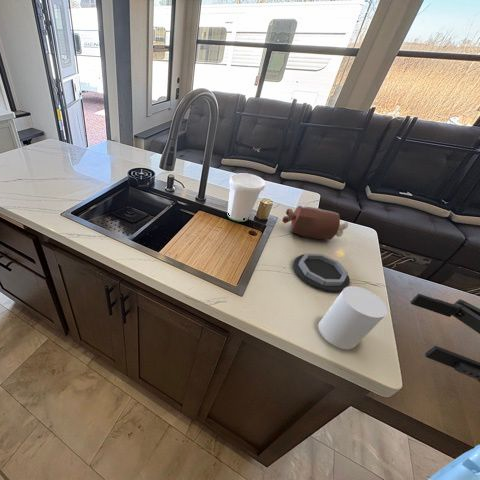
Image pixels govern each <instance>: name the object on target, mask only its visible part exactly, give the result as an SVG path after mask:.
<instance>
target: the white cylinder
mask: <svg viewBox="0 0 480 480" xmlns="http://www.w3.org/2000/svg"><path fill="white" fill-rule="evenodd" d="M388 311H389V309H388V306H387V304H386V303H385V302H384V300H383V299H382V298H381V297H379V296H378V295H377V294H375V293H374V292H372V291H370V290H369V289H366V288H363V287H360V286H354V285H350V286H349V285H348V287H346V288H344V289H343V291H341V292H339V295H338V296H337V297H336V299H335V300H334V301H333V302H332V304H331V305H330V306H329V308H328V310H327V311H326V313H325V314H324V315H323V317H322V318H321V320H320V321H319V322H318V331H319V333H320V334H321V336H322V337H323V338H324V339H325V340H326V341H327V342H328V343H330V344H331V345H332V346H334V347H336V348H338V349H341V350H352V349H354V348H356V347H357V346H358V344H360V343H361V341H363V339H364V338H365V337H366V336H367V335H368V334H369V333H370V332H371V331H372V330H373V329H374V328H375V327H376V326H377V325H378V324H379V323H380V322H381V321H382V320H383V319H384V318H385V317H386V316H387V314H388Z"/></svg>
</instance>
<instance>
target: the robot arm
mask: <svg viewBox="0 0 480 480" xmlns="http://www.w3.org/2000/svg"><path fill="white" fill-rule="evenodd" d="M410 305H412V306H415V307H418V308H421V309H425V310H427V311H431V312H434V313H436V314H439V315H442V316H445V317H448V318H450V317H454V318H455V319H456V320H458V321H459V322H461V323H463V324H464V325H465V326H467V327H468V328H470V329H472V330H473V331H474V332H475V333H478V334H479V335H480V308H479V307H477V306H475V305H473V304H471V303H469V302H467V301H466V300H464V299H458V300H455V302H454V303H451V302H448V301H446V300H445V301H444V300H442V299H439V298H434V297H430V296H428V295H425V294H421V293H417V294H416V295H415V296H413V299H411V300H410ZM424 355H425V357H426V358H427V359H430V360H432V361H434V362H437V363H440V364H442V365H446V366H447V367H450V368H453V370H454V371H455V372H458V373H460V374H461V375H465V376H468V377H469V378H472V379H474V380H477V382H479V383H480V362H479V361H477V360H474V359H472V358H469V357H467V356H464V355H461V354H458V353H456V352H453V351H450V350H448V349H446V348H442V347H441V346H437V345H433V347H431V348H430V349H428V350H427V351H426V352H425V353H424ZM427 480H480V444H477V445H476V446H475V447H474V448H471V449H469V450H467V451H465V452H464V453H462V454H461V455H459V456H458V457H456V458H455V459H454V460H452V461H451V462H449V463H447V464H446V465H445V466H444V467H442V468H441V469H439V470H438V471H437V472H435V473H434V474H433V475H431V476H430V477H429V478H427Z"/></svg>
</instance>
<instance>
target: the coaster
mask: <svg viewBox="0 0 480 480" xmlns="http://www.w3.org/2000/svg"><path fill="white" fill-rule="evenodd" d="M292 269H293V272H294V273H295V275H296V276H297V277H298V278H299V279H300V281H302V283H304V284H306V285H308V286H309V287H311V288H313V289H315V290H318V291H321V292H325V293H332V294H337V293H341V292H342V291H343V289H344V288H346V287H349V285H350V283H351V281H350V280H351V279H350V276H349V273H348V271H347V269H345V268H344V266H343V265H342V264H341V262H339V261H338V260H336V259H334V258H332V257H330V256H327V255H326V254H323V253H313V252H312V253H308V252H306V253H304V254H301V255H298V256H297V257H296V258H295V259H294V261H293V263H292Z"/></svg>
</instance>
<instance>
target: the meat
mask: <svg viewBox="0 0 480 480" xmlns="http://www.w3.org/2000/svg"><path fill="white" fill-rule="evenodd" d="M281 222H282V223H283V224H287V223H290V229H291V232H292V233H293V234H297V235H299V236H301V237H305V238H310V239H317V240H327V241H331V240H333V238H334V237H335V236H336V237H338V238H340V237H342V236H343V234H344V230H346V229H348V226H349V222H347V221H345V220H344V221H342V222H341V216H340V214H339V213H338V212H336V211H331V210H326V209H322V208H319V207H313V206H309V205H298V206H297V207H296V208H295V210H294V211H293V209H292V208H291V207H289V208H287V209H286V211H285V215H284V216H283V218H282V221H281Z"/></svg>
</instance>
